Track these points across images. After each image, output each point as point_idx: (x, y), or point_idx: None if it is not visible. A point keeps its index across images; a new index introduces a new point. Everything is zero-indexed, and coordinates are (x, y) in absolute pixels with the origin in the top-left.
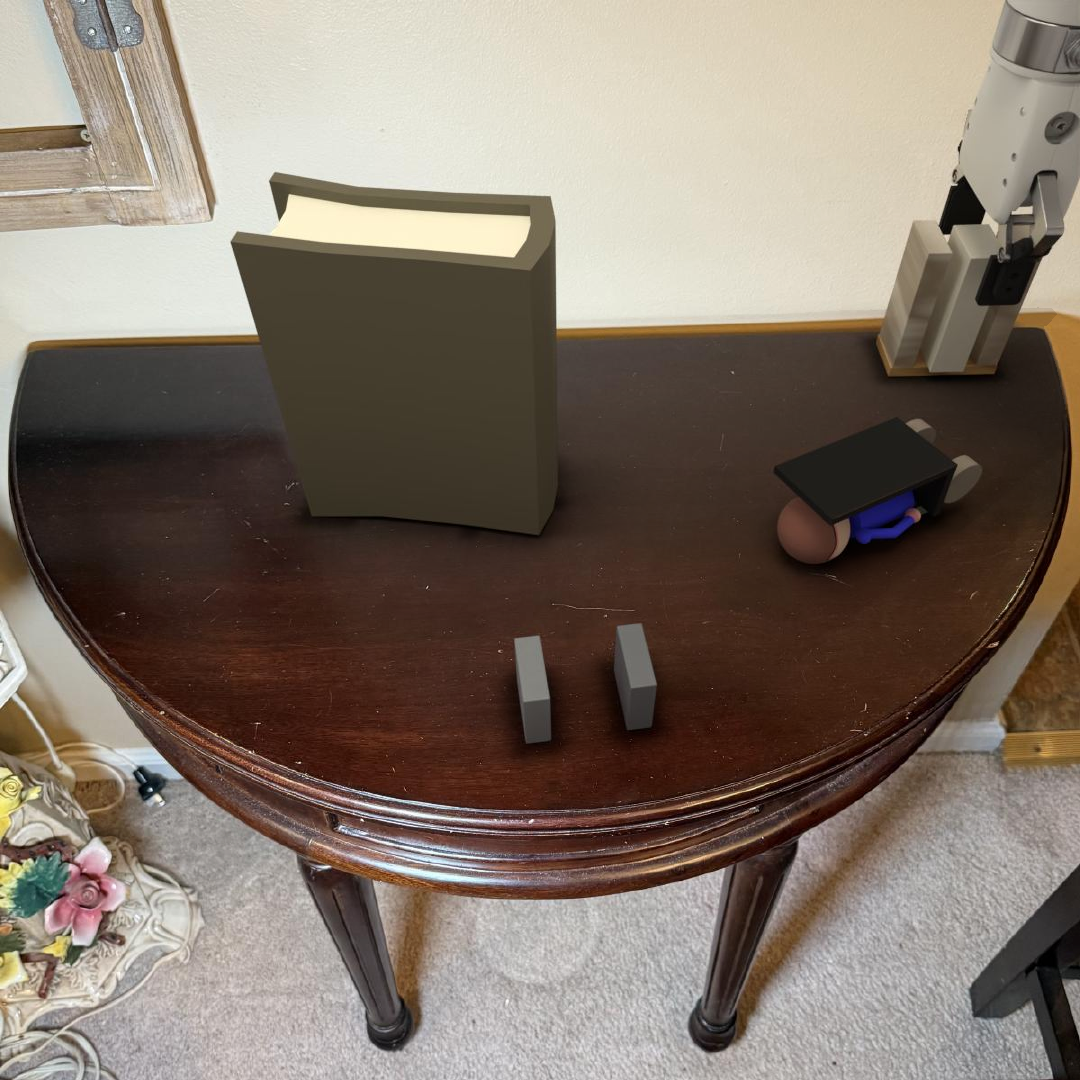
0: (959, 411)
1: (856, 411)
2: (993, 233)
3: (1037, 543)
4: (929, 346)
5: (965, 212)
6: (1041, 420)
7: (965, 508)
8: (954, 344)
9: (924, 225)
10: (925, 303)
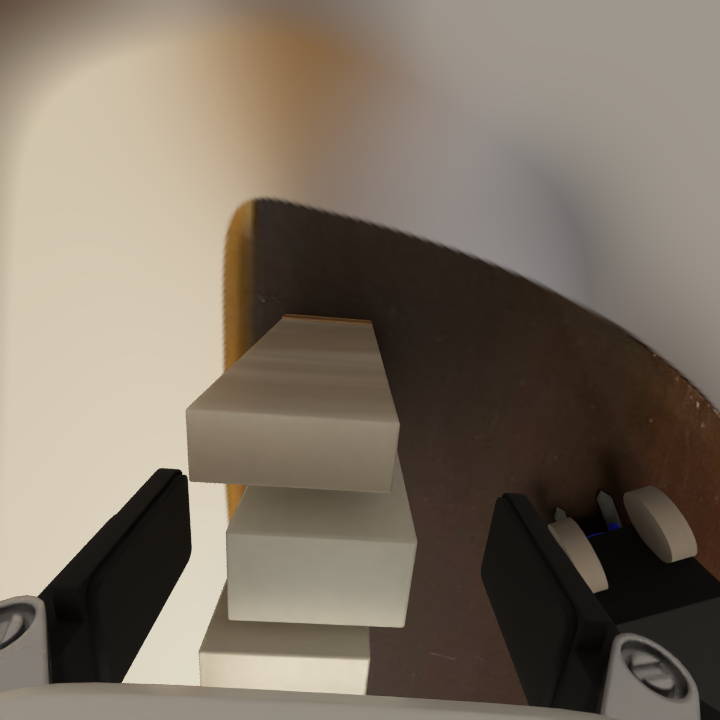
0: (443, 399)
1: (418, 521)
2: (284, 539)
3: (691, 393)
4: None
5: (154, 571)
6: (485, 291)
7: (611, 453)
8: None
9: (228, 682)
10: None
